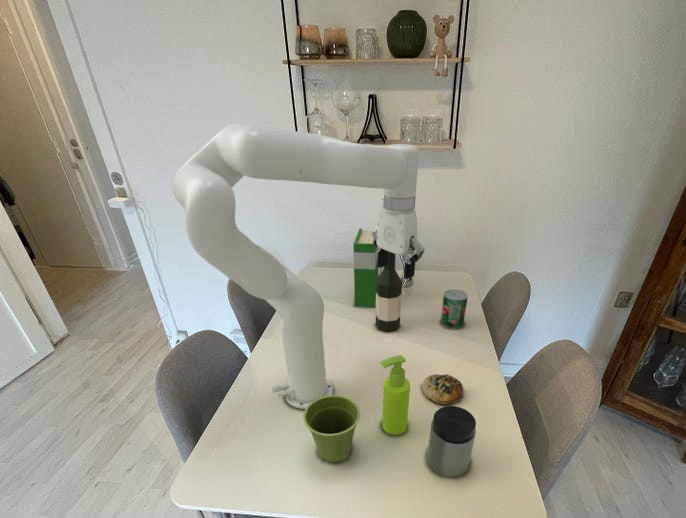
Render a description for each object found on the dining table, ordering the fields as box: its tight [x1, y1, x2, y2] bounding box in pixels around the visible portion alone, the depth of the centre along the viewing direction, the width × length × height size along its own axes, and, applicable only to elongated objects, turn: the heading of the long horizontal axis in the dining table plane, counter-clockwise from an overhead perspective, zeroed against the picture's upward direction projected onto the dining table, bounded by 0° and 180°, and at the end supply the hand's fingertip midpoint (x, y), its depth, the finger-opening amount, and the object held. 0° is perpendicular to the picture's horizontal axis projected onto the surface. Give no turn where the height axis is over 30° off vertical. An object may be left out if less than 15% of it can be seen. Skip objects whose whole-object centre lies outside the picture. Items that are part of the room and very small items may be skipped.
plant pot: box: [302, 394, 361, 463], centre depth 83 cm, size 12×12×11 cm
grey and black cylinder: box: [426, 405, 477, 478], centre depth 80 cm, size 9×9×12 cm
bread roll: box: [421, 373, 464, 405], centre depth 101 cm, size 11×11×5 cm
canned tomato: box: [440, 289, 469, 330], centre depth 130 cm, size 8×8×11 cm
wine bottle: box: [375, 251, 403, 333], centre depth 123 cm, size 8×8×30 cm
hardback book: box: [353, 228, 379, 308], centre depth 144 cm, size 18×7×24 cm, turn 174°
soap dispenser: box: [379, 354, 411, 436], centre depth 86 cm, size 6×7×20 cm
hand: (395, 271), depth 99 cm, fingers open, 9 cm apart
